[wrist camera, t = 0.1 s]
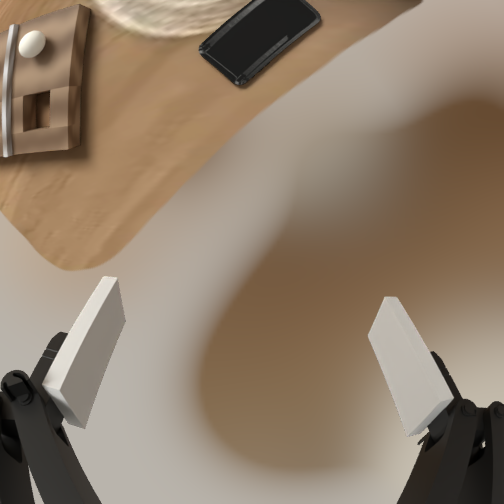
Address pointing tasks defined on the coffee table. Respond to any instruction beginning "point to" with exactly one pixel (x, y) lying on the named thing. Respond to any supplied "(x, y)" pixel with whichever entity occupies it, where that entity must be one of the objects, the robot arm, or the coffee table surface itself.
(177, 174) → the coffee table surface
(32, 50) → the cream ball
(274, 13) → the phone
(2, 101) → the putting board
